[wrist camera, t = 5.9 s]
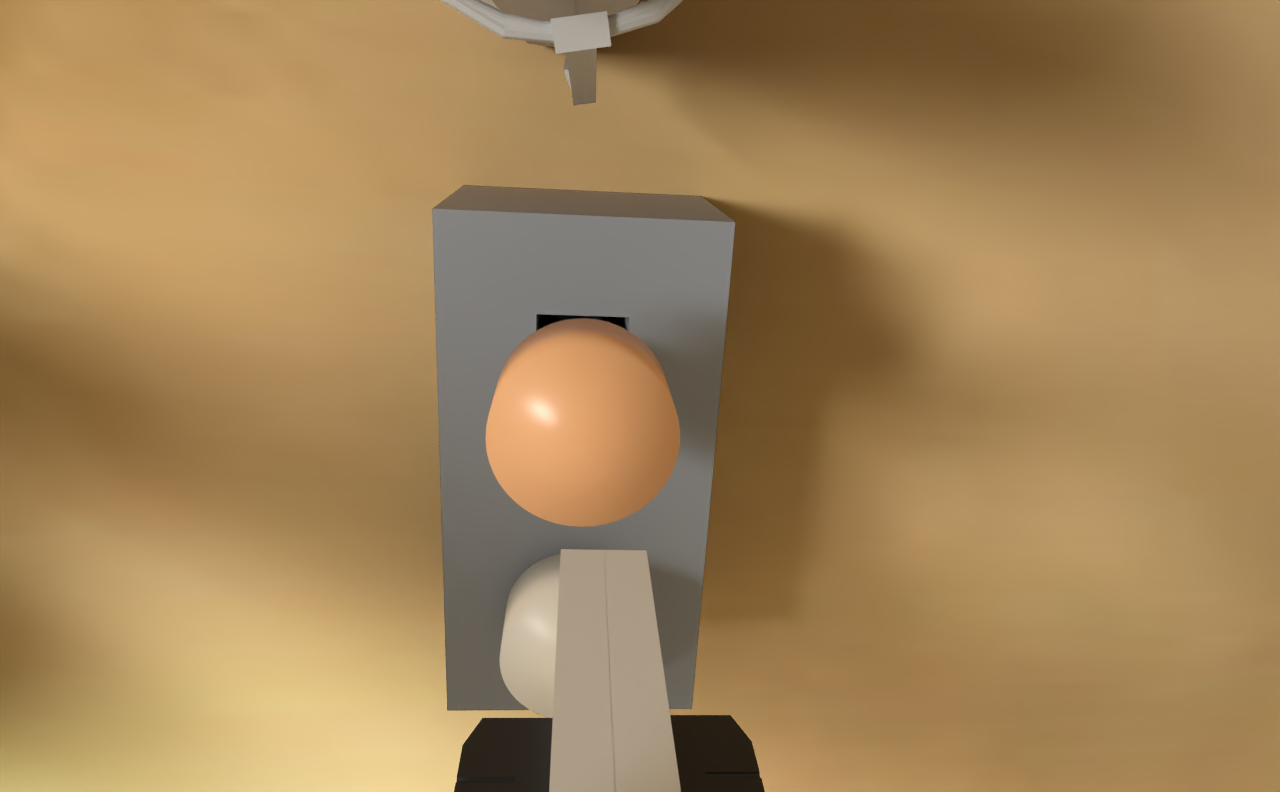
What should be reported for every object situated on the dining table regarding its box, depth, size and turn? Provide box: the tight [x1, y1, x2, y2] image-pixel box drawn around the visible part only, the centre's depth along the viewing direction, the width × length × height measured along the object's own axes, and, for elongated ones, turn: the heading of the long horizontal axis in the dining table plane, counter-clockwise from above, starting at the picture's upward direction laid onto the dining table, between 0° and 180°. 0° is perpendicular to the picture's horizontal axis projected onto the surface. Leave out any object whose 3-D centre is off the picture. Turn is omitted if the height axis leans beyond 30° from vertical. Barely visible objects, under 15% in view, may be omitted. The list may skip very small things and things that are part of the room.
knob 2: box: [485, 315, 680, 527], centre depth 27 cm, size 5×5×11 cm
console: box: [432, 185, 735, 710], centre depth 34 cm, size 10×20×8 cm, turn 177°
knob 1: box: [499, 554, 561, 718], centre depth 34 cm, size 5×5×11 cm
